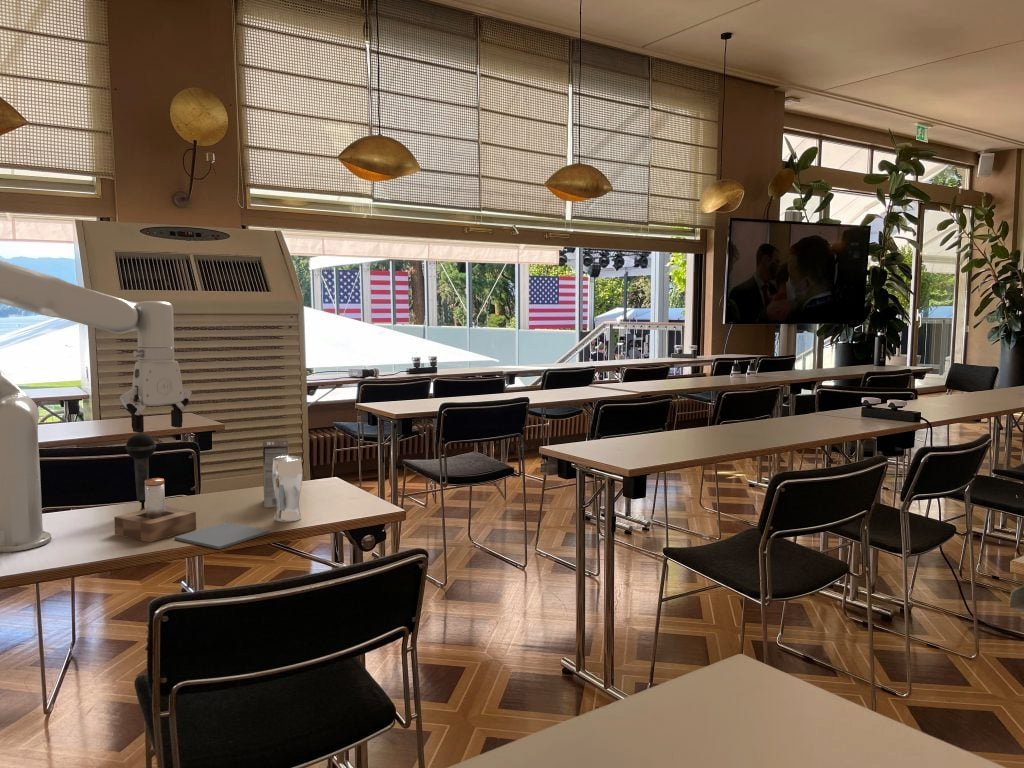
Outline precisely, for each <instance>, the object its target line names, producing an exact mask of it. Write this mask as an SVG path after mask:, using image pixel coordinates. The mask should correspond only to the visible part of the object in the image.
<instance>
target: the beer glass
mask: <svg viewBox="0 0 1024 768" xmlns="http://www.w3.org/2000/svg"><path fill="white" fill-rule="evenodd" d="M273 486H274V492H275V496H276V502H277V507H276V511H275V516H274V518H275V521H276V522H279V523H291V522H297V521H300V520H301V519H302V513H301V510H300V508H301V507H300V500H301V499H300V498H301V491H302V486H303V466H302V457H301V456H298V455H297V456H296V455H289V456H281V457H276V458H274V459H273ZM299 519H300V520H299Z"/></svg>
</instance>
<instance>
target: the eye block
mask: <svg viewBox="0 0 1024 768" xmlns="http://www.w3.org/2000/svg"><path fill="white" fill-rule="evenodd" d="M196 516H197V512H196V511H194V510H193V511H192V510H188V509H182V508H176V507H173V506H172V507H171V506H166V505H165V516H163V517H159V518H155V519H149V518H146V508H145V509H144V510H137V511H133V512H129V513H125V514H120V515H116V516H114V519H113V520H114V534H115V535H116V536H117V535H118V536H121V537H126V538H130V539H135V540H139V541H143V542H148V543H152V542H155V541H159V540H163V539H166V538H169V537H173V536H177V535H181V534H182V533H183V534H185V533H186V532H187V533H188V532H191V531H195V530H196V529H197V517H196Z"/></svg>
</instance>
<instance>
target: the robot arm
mask: <svg viewBox="0 0 1024 768" xmlns="http://www.w3.org/2000/svg"><path fill="white" fill-rule="evenodd" d="M0 304H3V305H7V306H10V307H14V308H16V309H17V308H18V309H21V310H25V311H28V312H32V313H35V314H39V315H41V316H46V317H48V318H49V317H50V318H56V319H57V318H59V319H63V320H67V321H71V322H73V323H78V324H80V325H85V326H89V327H91V328H96V329H99V330H102V331H106V332H109V333H112V334H120V335H121V334H125V333H128V332H137V350H133V353H132V355H133V357H134V358H135V357H137V361H135V364H134V368H133V374H132V375H133V376H132V384H131V385H132V387H131V388H130V389H129V390H127V391H126V392H124V393H123V394H120V396H119V401H120V402H121V404H122V405H123V408H124V409H125V410H126V411H127V412H128V414H129V415H131V416H130V417H131V418H130V419H131V428H132V431H133V433H138V434H141V433H142V434H143V432H144V429H145V428H144V427H145V426H144V424H145V423H144V421H145V420H144V415H143V414H142V413H143V411H144V410H145V409H146V407H155V406H167V405H169V406H170V407H172V409H170V410H171V411H170V422H171V423H170V425H171V427H173V428H179V429H180V428H182V427H183V411H185V408H186V406H187V405H188V404H189V401H190V398H191V395H192V394H193V392H192V390H190V389H188V388H186V387H184V386H183V381H182V380H183V379H182V374H181V369H180V365H179V362H178V360H175V331H174V330H175V329H174V328H175V326H174V324H175V323H174V307H173V305H172V303H170V302H168V301H162V300H161V301H160V300H144V301H131V300H126V299H123V298H119V297H116V296H114V295H113V296H112V295H110V294H106V293H103V292H100V291H96V290H93V289H89V288H86V287H83V286H80V285H76V284H74V283H71V282H69V281H66V280H63V279H61V278H58V277H55V276H53V275H50V274H46V273H43V272H40V271H36V270H32V269H30V268H27V267H23V266H20V265H17V264H13V263H10V262H7V261H2V260H0ZM131 399H132V402H133V404H132V403H131ZM39 419H40V411H39V408H38V405H37V404H36V402H35V401H34V400H33V399H32V398H31V397H30V396H29V395H28V394H27V393H26V392H24V391H23V390H22V389H21V388H20V387H19V386H18V385H17V384H16V383H15V382H13V381H12V380H11V379H10V378H9V377H8V376H7V375H6V374H5V373H4V372H2V370H0V553H11V552H12V553H13V552H18V551H26V550H31V549H34V548H38V547H40V546H41V547H42V546H43V545H46V544H48V543H49V542H51V540H52V539H53V538H52V534H51V533H50V532H48V531H44V529H43V509H42V507H43V506H42V488H41V487H42V485H41V468H40V452H39V450H40V447H39V429H38V428H39V421H40V420H39Z"/></svg>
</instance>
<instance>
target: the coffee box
mask: <svg viewBox="0 0 1024 768" xmlns="http://www.w3.org/2000/svg"><path fill="white" fill-rule="evenodd" d="M289 454H290V453H289V442H288V440H287V439H285V440H278V439H276V440H275V439H273V440H263V441H262V472H263V473H262V476H263V499H264V500H263V501H264V502H263V503H264V505H263V506H264V508H267V509H268V508H277V502H276V496H275V492H274V486H273V459H274V458H276V457H281V456H290V455H289Z"/></svg>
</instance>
